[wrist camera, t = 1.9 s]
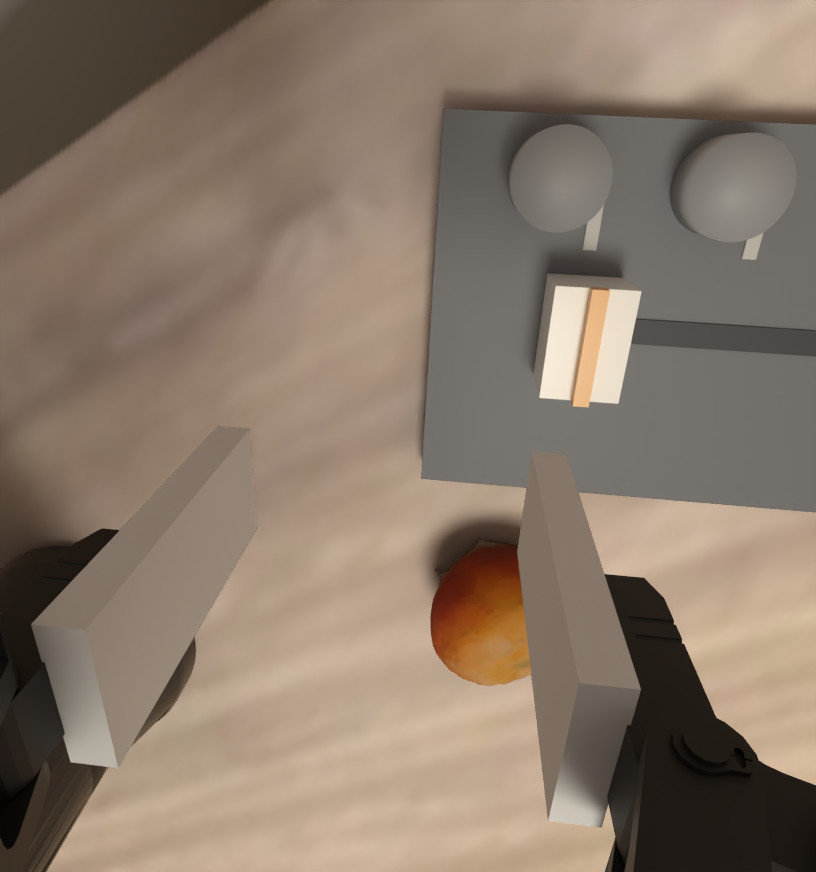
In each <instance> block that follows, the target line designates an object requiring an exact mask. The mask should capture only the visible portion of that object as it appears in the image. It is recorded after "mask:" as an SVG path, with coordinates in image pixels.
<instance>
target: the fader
mask: <svg viewBox="0 0 816 872" xmlns="http://www.w3.org/2000/svg"><path fill="white" fill-rule="evenodd" d="M641 292H642V291H641V290H640V289H638V288H637V287H636V286H634V285H633V284H632V283H631V282H629V281H628V280H627V279H626V278H617V277H601V276H584V275H568V274H551V273H547V280H546V287H545V295H544V302H543V309H542V316H541V323H540V331H539V338H538V345H537V352H536V359H535V366H534V374H533V377H534V381H535V384H536V388H537V392H538V395H539V398H547V399H561V400H571V404H572V406H575V407H589V403H590V402H601V403H614V404H618V403H619V398H620V393H621V389H622V384H623V379H624V374H625V369H626V364H627V360H628V355H629V350H630V345H631V340H632V335H633V331H634V326H635V321H636V316H637V311H638V306H639V302H640V297H641Z"/></svg>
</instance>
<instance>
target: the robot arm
mask: <svg viewBox="0 0 816 872" xmlns="http://www.w3.org/2000/svg"><path fill="white" fill-rule="evenodd" d="M256 529H257V514H256V501H255V487H254V474H253V460H252V447H251V433H250V429H249V428H237V427H225V426H218V427H217V428H216V429H215V430H214V431H213V432H212V433H211V434H210V435H209V436H208V437H207V438H206V440H205V441H204V442H203V443H202V444H201V445H200V446H199V447H198V448H197V449H196V450H195V451H194V452H193V453H192V454H191V455H190V456H189V458H188V459H187V460H186V461H185V462H184V463H183V464H182V465H181V466H180V467H179V468H178V469H177V470H176V471H175V472H174V473H173V474H172V476H171V477H170V478H169V479H168V480H167V481H166V482H165V483H164V484H163V485H162V486H161V487H160V488H159V489H158V490H157V491H156V492H155V494H154V495H153V496H152V497H151V498H150V499H149V500H148V501H147V502H146V503H145V504H144V505H143V506H142V507H141V508H140V509H139V510H138V512H137V513H136V514H135V515H134V516H133V517H132V518H131V519H130V520H129V521H128V522H127V523H126V524H125V525H124V526H123V527H122V529H121V530H112V529H100V530H98V531H96V532H95V533H93V534H91V535H89V536H87V537H86V538H84V539H82V540H80V541H78V542H76V543H75V544H74V545H73V546H72V547H48V548H41V549H37V550H33V551H30V552H27V553H24V554H22V555H20V556H18V557H16V558H15V559H13V560H12V561H10V562H9V563H8V564H6V565H5V566H4V567H3V568H2V569H1V570H0V872H47V870H48V868H49V866H50V865H51V863H52V861H53V860H54V858H55V856H56V854H57V853H58V851H59V849H60V848H61V846H62V844H63V842H64V841H65V839H66V837H67V836H68V834H69V832H70V830H71V829H72V827H73V825H74V824H75V822H76V820H77V819H78V817H79V815H80V813H81V812H82V810H83V808H84V807H85V805H86V803H87V802H88V800H89V798H90V796H91V795H92V793H93V791H94V790H95V788H96V786H97V785H98V783H99V781H100V780H101V778H102V776H103V775H104V773H105V772H106V770H107V769H108V768H109V767H113V768H119V766H120V764H121V763H122V761H123V759H124V757H125V756H126V754H127V752H128V750H129V749H130V747H131V746H132V745H133V744H134V743H135V742H136V741H137V740H138V739H139V738H141V737H142V736H143V735H144V734H145V733H146V732H147V731H148V730H149V729H150V728H151V727H152V726H153V725H154V724H155V723H156V722H157V721H159V720H160V719H161V718H163V717H164V716H165V715H166V714H167V713H168V712H169V711H170V709H171V708H172V707H173V705H174V704H175V703H176V701H177V699H178V698H179V696H180V694H181V692H182V690H183V689H184V687H185V685H186V683H187V681H188V679H189V677H190V675H191V673H192V670H193V666H194V661H195V646H194V641H193V638H194V636H195V635H196V633H197V631H198V630H199V628H200V626H201V624H202V623H203V621H204V619H205V617H206V616H207V614H208V612H209V611H210V609H211V607H212V605H213V604H214V602H215V600H216V598H217V597H218V595H219V593H220V592H221V590H222V588H223V586H224V585H225V583H226V581H227V579H228V578H229V576H230V574H231V573H232V571H233V569H234V567H235V566H236V564H237V562H238V560H239V559H240V557H241V555H242V554H243V552H244V550H245V548H246V547H247V545H248V543H249V541H250V540H251V538H252V536H253V535H254V533H255V531H256ZM517 554H518V563H519V572H520V580H521V589H522V598H523V606H524V615H525V624H526V632H527V641H528V650H529V658H530V667H531V676H532V685H533V693H534V702H535V711H536V719H537V728H538V737H539V745H540V754H541V763H542V772H543V780H544V789H545V798H546V806H547V815H548V821H553V822H561V823H569V824H577V825H585V826H593V827H602V824H603V820H604V817H605V813H606V810H607V806H608V803H609V808H610V813H611V817H612V822H613V827H614V832H615V836H616V837H615V841H614V844H613V847H612V850H611V854H610V857H609V860H608V863H607V867H606V870H605V872H816V785H813V784H811V783H808V782H805V781H803V780H800V779H797V778H795V777H792V776H789V775H787V774H784V773H782V772H780V771H778V770H775V769H773V768H771V767H769V766H767V765H765V764H763V763H762V762H760V761H759V760H758V757H757V755H756V753H755V752H754V751H753V749H752V748H751V747H750V745H749V744H748V743H747V741H746V740H745V739H744V737H743V736H741V735H740V734H739V733H738V732H736V731H735V730H734V729H733V728H731V727H730V726H729V725H728V724H726V723H725V722H723V721H721V720H719V719H717V718H716V716H715V714H714V711H713V709H712V707H711V705H710V702H709V700H708V698H707V695H706V693H705V691H704V689H703V686H702V684H701V682H700V679H699V677H698V675H697V672H696V670H695V668H694V666H693V663H692V661H691V659H690V656H689V654H688V652H687V650H686V647H685V645H684V644H682V638H681V636H680V633H679V631H678V629H677V627H676V625H674V620H673V617H672V615H671V613H670V611H669V608H668V606H667V604H666V601H665V599H664V598H663V597H662V596H661V595H660V594H659V593H658V592H657V591H656V590H655V589H654V588H653V587H652V586H651V585H650V584H649V583H648V581H647V580H646V579H645V578H639V577H628V576H618V575H607V574H604V572H603V568H602V565H601V562H600V559H599V556H598V553H597V550H596V546H595V543H594V540H593V537H592V534H591V531H590V528H589V524H588V521H587V518H586V515H585V512H584V509H583V506H582V502H581V499H580V496H579V493H578V490H577V487H576V483H575V480H574V477H573V474H572V471H571V468H570V465H569V461H568V458H567V455H566V454H557V453H544V452H532V455H531V461H530V468H529V475H528V482H527V489H526V495H525V502H524V509H523V516H522V523H521V530H520V536H519V543H518V550H517Z"/></svg>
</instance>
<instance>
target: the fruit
mask: <svg viewBox="0 0 816 872" xmlns="http://www.w3.org/2000/svg"><path fill="white" fill-rule="evenodd" d="M517 550H518V547H517V546H515V545H508V544H502V543H491V542H487V541H484V540H481V538H480V539H479V542H478V544H477V545H476V546H475V547H474V548H473V549H472V550H471V551H469V552H468V553H467V554H466V555H465V556H463V557H462V558H460V559H459V560H458V561H457V562H456V563H455V564H454V565H453V566H452V567H451V569H450V570H449V571H448V572H445V573H441V572H438V571H437V570H434V571H435V572H437V573H438V574H439V575H440V576H441V577H442V579H441V580H440V583H439V587H438V590H437V592H436V594H435V596H434V599H433V603H432V609H431V636H432V642H433V647H434V649H435V652H436V654H437V655H438V656H439V658H440V659H441V660H442V661H443V663H444V664H445V665H446V666H447V667H448V669H449V670H450V671H452V672H454V673H456V674H457V675H458V676H459V677H461V678H463V679H466V680H468V681H472V682H475V683H477V684H479V685H486V686H492V685H497V684H507V683H510V682H512V681H514V680H517V679H521V678H524V677H526V676H529V675H531V667H530V658H529V650H528V641H527V632H526V624H525V615H524V606H523V598H522V589H521V580H520V572H519V563H518V554H517Z"/></svg>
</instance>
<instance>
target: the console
mask: <svg viewBox="0 0 816 872" xmlns="http://www.w3.org/2000/svg"><path fill="white" fill-rule="evenodd" d="M547 273H551V274H568V275H584V276H601V277H617V278H626V279H627V280H628V281H629V282H631V283H632V284H633V285H634V286H636V287H637V288H638V289H640V290H641V291H642V292H641V297H640V302H639V306H638V311H637V316H636V321H635V326H634V331H633V335H632V340H631V345H630V350H629V355H628V360H627V364H626V369H625V374H624V379H623V384H622V389H621V393H620V398H619V403H618V404H614V403H601V402H590V403H589V407H575V406H572V404H571V400H561V399H547V398H539V395H538V392H537V388H536V384H535V381H534V377H533V374H534V366H535V359H536V352H537V345H538V338H539V331H540V323H541V316H542V309H543V302H544V295H545V287H546V280H547ZM532 452H544V453H557V454H566V455H567V458H568V461H569V465H570V468H571V471H572V474H573V477H574V480H575V483H576V487H577V490H578V492H582V493H594V494H606V495H617V496H629V497H641V498H653V499H664V500H676V501H688V502H699V503H711V504H723V505H735V506H746V507H758V508H770V509H782V510H793V511H805V512H816V125H813V124H790V123H767V122H743V121H720V120H697V119H673V118H650V117H627V116H603V115H580V114H557V113H533V112H510V111H487V110H463V109H444V111H443V128H442V144H441V161H440V177H439V194H438V210H437V227H436V243H435V260H434V276H433V293H432V309H431V326H430V342H429V359H428V375H427V392H426V408H425V425H424V442H423V458H422V475H421V479H430V480H442V481H453V482H465V483H477V484H488V485H500V486H512V487H524V488H527V482H528V475H529V468H530V461H531V455H532Z"/></svg>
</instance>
